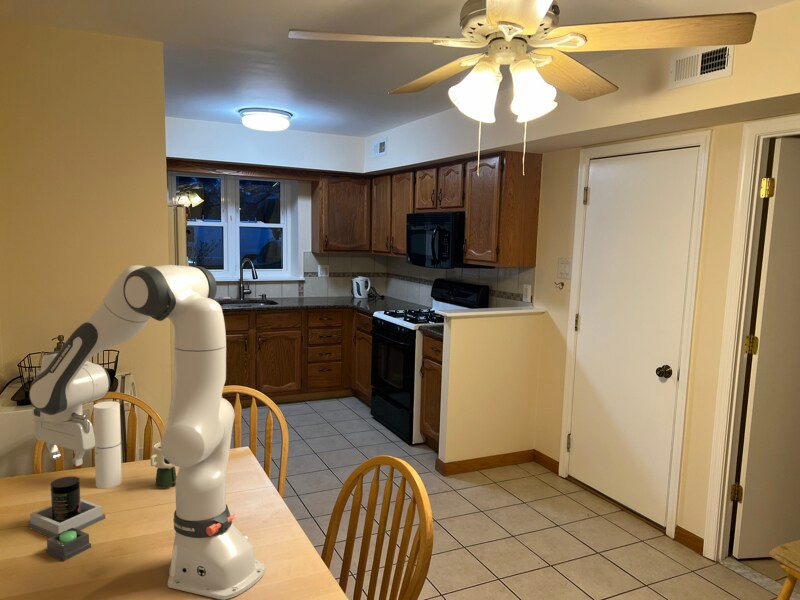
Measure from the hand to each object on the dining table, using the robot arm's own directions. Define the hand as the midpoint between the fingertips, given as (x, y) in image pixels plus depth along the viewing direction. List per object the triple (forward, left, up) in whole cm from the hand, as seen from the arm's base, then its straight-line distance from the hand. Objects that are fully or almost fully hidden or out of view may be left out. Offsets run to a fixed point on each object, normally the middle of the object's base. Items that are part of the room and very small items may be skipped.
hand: (66, 461), depth 150 cm
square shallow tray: (0, 0, -17) cm, 17 cm away
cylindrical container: (+12, -21, -17) cm, 30 cm away
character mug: (-4, -29, -17) cm, 34 cm away
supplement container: (0, 0, -16) cm, 16 cm away
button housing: (-13, +8, -17) cm, 23 cm away
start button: (-13, +8, -15) cm, 22 cm away
